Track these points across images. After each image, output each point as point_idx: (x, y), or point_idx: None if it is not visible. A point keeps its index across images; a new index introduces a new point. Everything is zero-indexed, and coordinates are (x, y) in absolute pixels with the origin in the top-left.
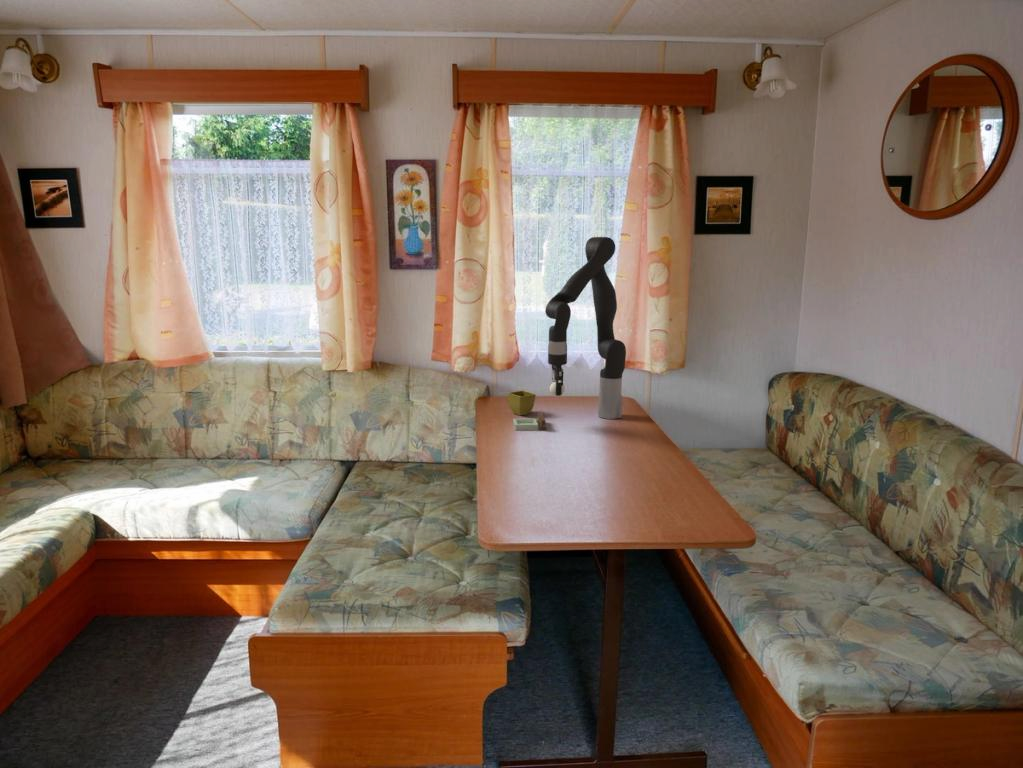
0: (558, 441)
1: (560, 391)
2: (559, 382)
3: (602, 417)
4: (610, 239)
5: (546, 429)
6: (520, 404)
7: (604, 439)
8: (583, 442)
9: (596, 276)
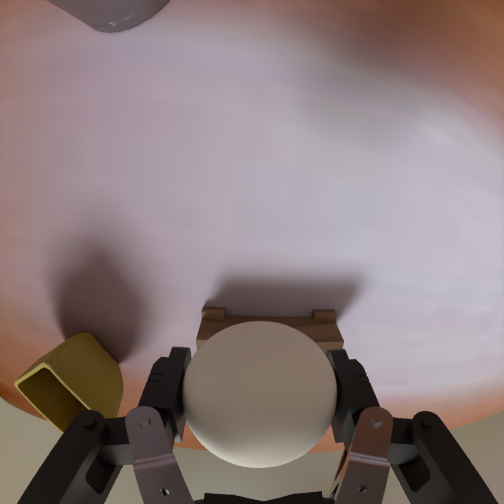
0: (457, 286)
1: (367, 379)
2: (291, 442)
3: (152, 15)
4: None
5: (335, 314)
6: (119, 402)
7: (470, 113)
8: (485, 203)
9: None
